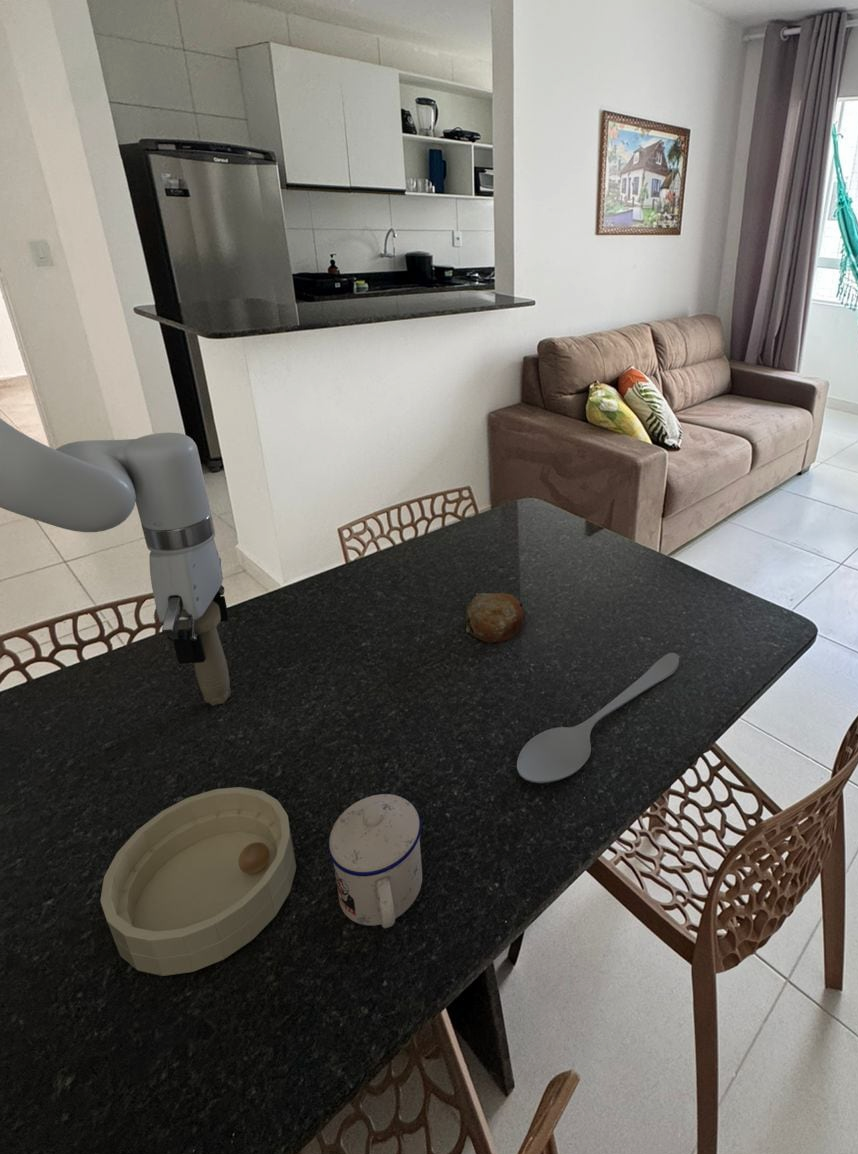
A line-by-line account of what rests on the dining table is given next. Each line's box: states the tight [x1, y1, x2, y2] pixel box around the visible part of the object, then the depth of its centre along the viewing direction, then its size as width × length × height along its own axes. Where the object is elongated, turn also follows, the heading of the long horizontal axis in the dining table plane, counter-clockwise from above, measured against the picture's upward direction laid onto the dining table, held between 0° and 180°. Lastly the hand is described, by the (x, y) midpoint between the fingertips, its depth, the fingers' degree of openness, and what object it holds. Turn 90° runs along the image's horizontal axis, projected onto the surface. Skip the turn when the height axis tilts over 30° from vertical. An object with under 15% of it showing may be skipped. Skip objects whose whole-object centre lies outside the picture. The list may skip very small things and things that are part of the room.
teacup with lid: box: [327, 793, 423, 929], centre depth 68 cm, size 12×9×12 cm
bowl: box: [99, 786, 297, 977], centre depth 69 cm, size 17×17×6 cm
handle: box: [179, 600, 232, 707], centre depth 92 cm, size 5×6×15 cm
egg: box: [238, 842, 270, 874], centre depth 72 cm, size 3×3×3 cm
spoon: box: [516, 652, 680, 784], centre depth 96 cm, size 35×8×3 cm, turn 140°
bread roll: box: [465, 591, 526, 644], centre depth 114 cm, size 10×10×8 cm
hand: (205, 639), depth 91 cm, fingers open, 8 cm apart
